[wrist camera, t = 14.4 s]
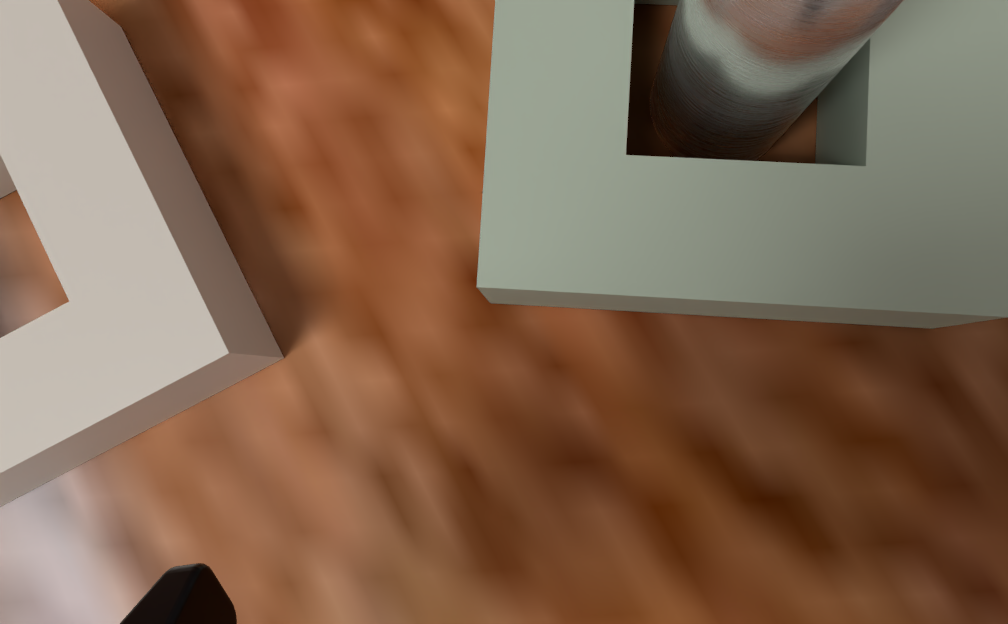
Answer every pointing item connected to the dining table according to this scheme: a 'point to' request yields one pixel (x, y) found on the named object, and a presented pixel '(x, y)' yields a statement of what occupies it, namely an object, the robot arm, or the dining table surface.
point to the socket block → (107, 252)
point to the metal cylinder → (751, 69)
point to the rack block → (752, 180)
